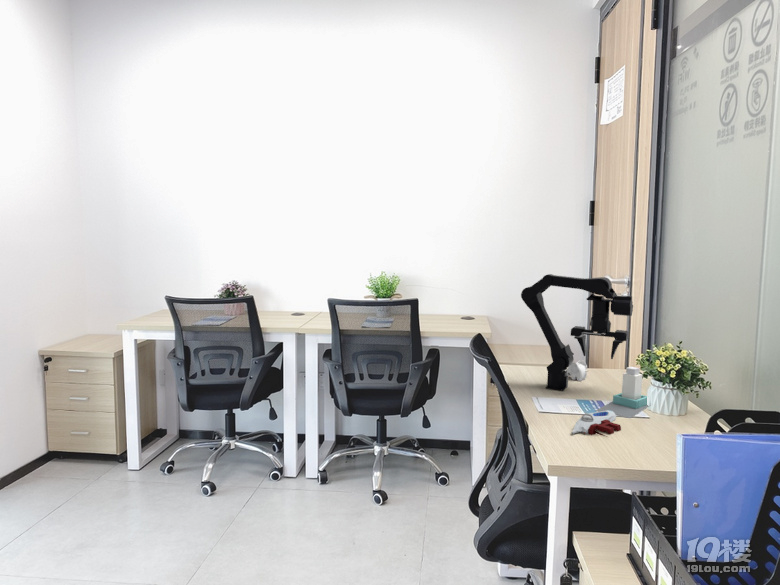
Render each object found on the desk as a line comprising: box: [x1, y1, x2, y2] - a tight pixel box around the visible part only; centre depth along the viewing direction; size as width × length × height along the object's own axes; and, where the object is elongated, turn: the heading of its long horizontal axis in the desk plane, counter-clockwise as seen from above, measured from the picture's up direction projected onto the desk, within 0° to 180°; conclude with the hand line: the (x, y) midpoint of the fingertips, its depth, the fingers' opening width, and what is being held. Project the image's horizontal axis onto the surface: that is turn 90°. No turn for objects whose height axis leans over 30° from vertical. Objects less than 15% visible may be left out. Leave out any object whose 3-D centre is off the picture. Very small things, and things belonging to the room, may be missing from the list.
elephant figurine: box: [565, 359, 589, 382], centre depth 241 cm, size 8×10×7 cm
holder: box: [612, 392, 647, 409], centre depth 206 cm, size 8×8×2 cm
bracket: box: [587, 419, 622, 438], centre depth 180 cm, size 3×6×10 cm
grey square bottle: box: [621, 366, 643, 400], centre depth 205 cm, size 4×4×12 cm
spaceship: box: [571, 410, 617, 435], centre depth 186 cm, size 23×7×4 cm, turn 131°
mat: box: [595, 400, 650, 419], centre depth 202 cm, size 21×11×1 cm, turn 139°
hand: (598, 357), depth 220 cm, fingers open, 9 cm apart
